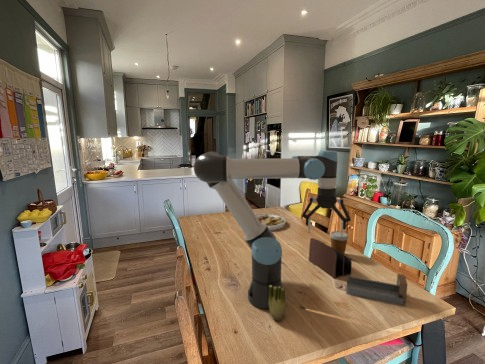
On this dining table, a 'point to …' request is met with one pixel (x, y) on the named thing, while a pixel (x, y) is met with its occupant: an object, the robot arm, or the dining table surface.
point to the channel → (379, 289)
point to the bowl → (271, 221)
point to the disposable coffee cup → (339, 241)
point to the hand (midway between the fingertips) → (325, 234)
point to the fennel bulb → (277, 302)
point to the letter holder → (329, 259)
